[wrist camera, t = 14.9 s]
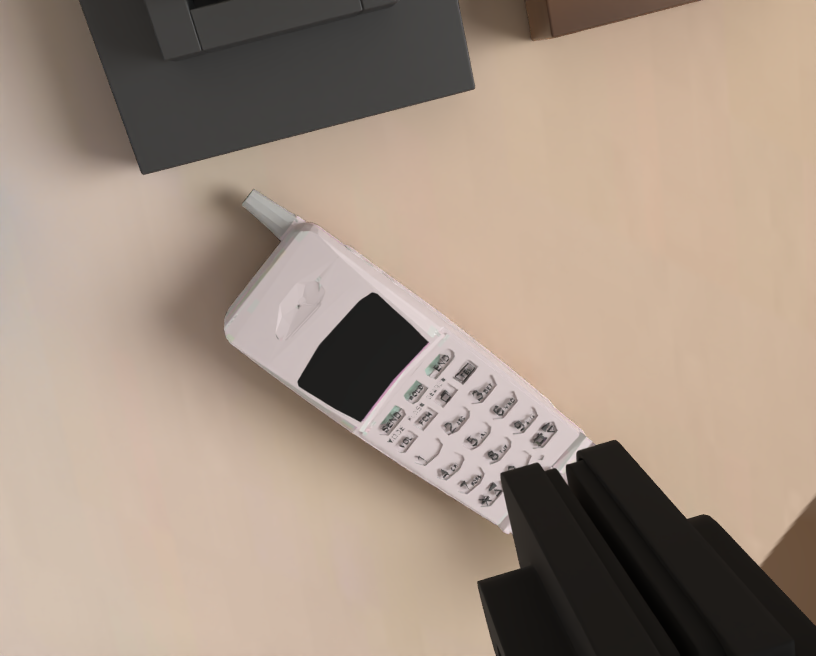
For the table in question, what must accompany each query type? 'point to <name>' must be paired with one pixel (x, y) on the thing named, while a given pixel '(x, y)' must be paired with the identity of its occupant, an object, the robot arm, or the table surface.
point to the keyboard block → (268, 67)
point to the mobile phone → (393, 367)
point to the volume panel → (586, 14)
